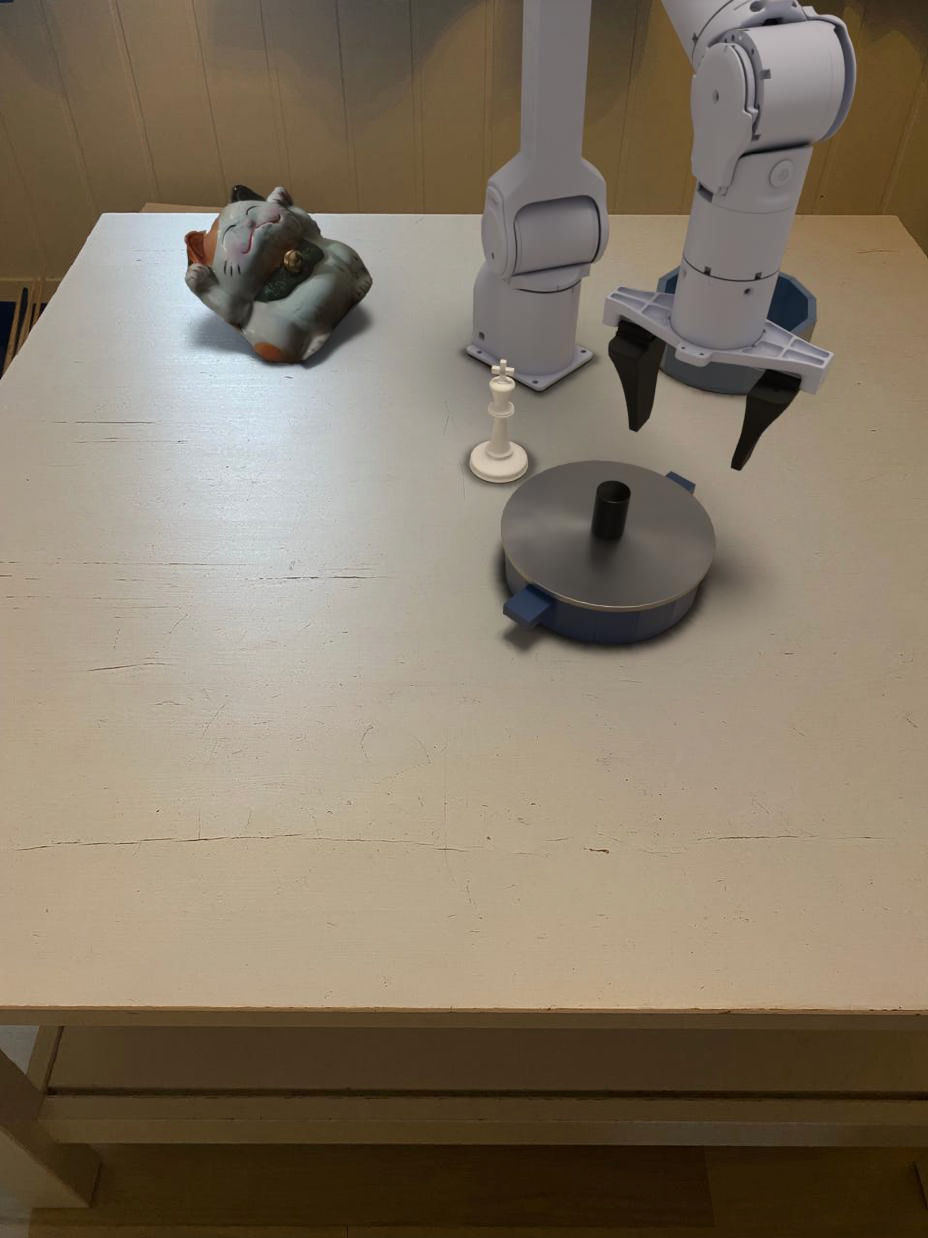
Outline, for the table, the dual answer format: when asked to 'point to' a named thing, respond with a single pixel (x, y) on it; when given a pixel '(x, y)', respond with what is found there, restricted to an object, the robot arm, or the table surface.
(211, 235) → the lucky cat figurine
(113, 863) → the table surface
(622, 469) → the lid
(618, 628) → the pan
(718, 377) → the pot
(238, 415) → the table surface
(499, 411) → the chess piece
